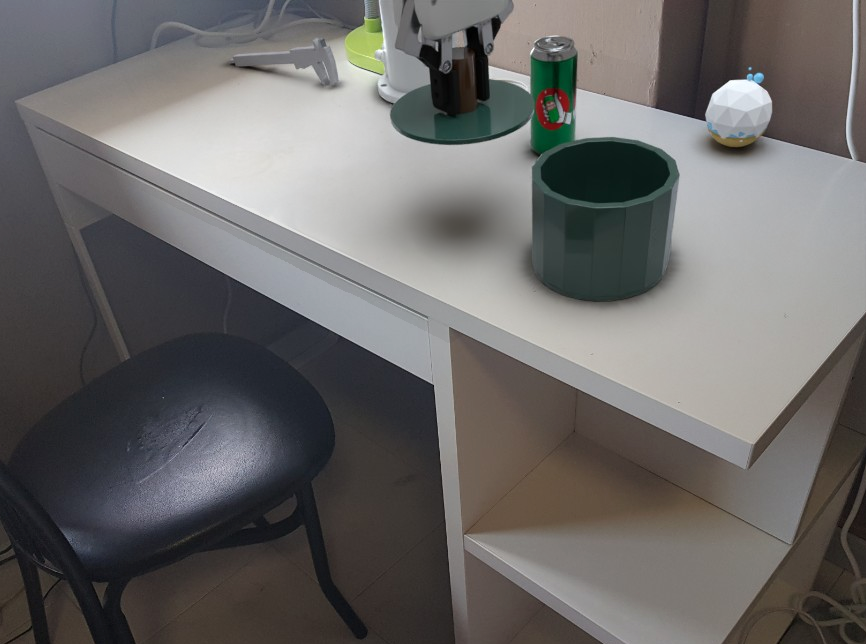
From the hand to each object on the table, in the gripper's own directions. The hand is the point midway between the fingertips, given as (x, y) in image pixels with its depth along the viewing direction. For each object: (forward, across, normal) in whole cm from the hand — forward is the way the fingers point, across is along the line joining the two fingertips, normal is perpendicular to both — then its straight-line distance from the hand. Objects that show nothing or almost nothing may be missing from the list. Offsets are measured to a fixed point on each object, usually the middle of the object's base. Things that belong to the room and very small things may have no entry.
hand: (461, 101), depth 78 cm
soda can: (+13, -17, -4) cm, 22 cm away
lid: (+1, 0, 0) cm, 1 cm away
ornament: (+13, -31, +11) cm, 35 cm away
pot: (+13, -3, +15) cm, 20 cm away
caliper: (+13, -9, -49) cm, 52 cm away
